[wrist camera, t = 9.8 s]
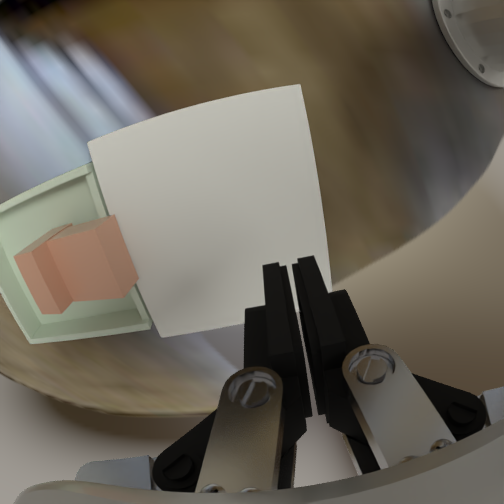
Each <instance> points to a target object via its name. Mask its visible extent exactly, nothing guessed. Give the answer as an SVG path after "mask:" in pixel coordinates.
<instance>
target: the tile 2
mask: <svg viewBox="0 0 504 504" xmlns="http://www.w3.org/2000/svg"><path fill="white" fill-rule="evenodd" d="M46 243H47V245H48V248H49V250H50V252H51V255H52V257H53V259H54V261H55V264H56V266H57V268H58V270H59V272H60V275H61V277H62V279H63V281H64V283H65V285H66V287H67V289H68V291H69V293H70V295H71V297H72V299H73V301H74V302H77V301H91V300H104V299H117V298H124V297H125V296H126V295H127V293H128V292H129V291H130V289H131V288H132V287H133V286H134V284H135V283H136V282H137V280H138V279H139V277H138V275H137V272H136V270H135V267H134V265H133V262H132V260H131V257H130V255H129V252H128V250H127V247H126V244H125V242H124V239H123V236H122V234H121V231H120V228H119V226H118V223H117V220H116V217H115V214H114V215H110V216H107V217H103V218H99V219H95V220H92V221H88V222H84V223H81V224H77V225H74V226H70V227H67V228H65V229H63V230H62V231H61V232H59V233H58V234H56V235H55V236H53V237H52V238H51V239H49V240H48V241H47V242H46Z"/></svg>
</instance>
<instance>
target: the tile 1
mask: <svg viewBox="0 0 504 504" xmlns="http://www.w3.org/2000/svg"><path fill="white" fill-rule="evenodd" d="M70 226H73V225H72V223H69V224H66V225H63V226H59V227H56V228H53V229H51V230H50V231H48V232H47V233H45V234H44V235H42V236H41V237H39V238H38V239H37V240H35V241H34V242H32V243H31V244H30V245H28V246H27V247H25V248H24V249H23V250H21V251H20V252H19V253H17V254H16V255H15V256H13V257H14V259H15V262H16V264H17V266H18V268H19V270H20V272H21V275H22V277H23V279H24V281H25V283H26V285H27V287H28V289H29V291H30V293H31V295H32V296H33V298H34V300H35V302H36V304H37V306H38V308H39V309H40V311H41V313H42V314H62V313H63V312H64V311H65V310H66V309H67V308H68V306H69V305H70V304H71V303H72V302H73V299H72V297H71V295H70V293H69V291H68V289H67V287H66V285H65V283H64V281H63V279H62V277H61V275H60V272H59V270H58V268H57V266H56V264H55V261H54V259H53V257H52V255H51V252H50V250H49V248H48V245H47V243H46V242H47V241H48V240H49V239H51V238H52V237H53V236H55V235H56V234H58V233H59V232H61V231H62V230H63V229H65V228H67V227H70Z"/></svg>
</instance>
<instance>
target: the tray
mask: <svg viewBox="0 0 504 504" xmlns="http://www.w3.org/2000/svg"><path fill="white" fill-rule="evenodd" d="M107 216H110V215H109V212H108V209H107V206H106V203H105V200H104V197H103V194H102V191H101V188H100V185H99V182H98V178H97V175H96V172H95V168H94V165H93V162H91V163H88V164H86V165H83V166H81V167H78V168H76V169H74V170H71V171H69V172H66V173H64V174H62V175H60V176H57V177H55V178H53V179H51V180H49V181H46V182H44V183H42V184H40V185H38V186H36V187H34V188H32V189H30V190H28V191H25V192H23V193H21V194H20V195H18V196H16V197H14V198H12V199H10V200H8V201H6V202H4V203H2V204H1V205H0V293H1V295H2V297H3V299H4V300H5V302H6V304H7V306H8V308H9V310H10V311H11V313H12V315H13V317H14V318H15V320H16V322H17V323H18V325H19V327H20V328H21V330H22V332H23V333H24V335H25V336H26V338H27V340H28V341H29V343H30V344H38V343H48V342H58V341H67V340H76V339H84V338H92V337H100V336H107V335H114V334H121V333H128V332H135V331H142V330H148V329H151V326H152V323H153V320H152V317H151V315H150V313H149V311H148V309H147V307H146V304H145V302H144V300H143V298H142V295H141V293H140V291H139V289H138V286H137V284H136V283H135V284H134V286H133V287H132V288H131V289H130V291H129V292H128V293H127V295H126V296H125V297H124V298H117V299H104V300H91V301H77V302H74V301H73V302H72V303H71V304H70V305H69V306H68V308H67V309H66V310H65V311H64V312H63V313H62V314H42V313H41V311H40V309H39V308H38V306H37V304H36V302H35V300H34V298H33V296H32V295H31V293H30V291H29V289H28V287H27V285H26V283H25V281H24V279H23V277H22V275H21V272H20V270H19V268H18V266H17V264H16V262H15V259H14V257H13V256H15V255H16V254H17V253H19V252H20V251H21V250H23V249H24V248H25V247H27V246H28V245H30V244H31V243H32V242H34V241H35V240H37V239H38V238H39V237H41V236H42V235H44V234H45V233H47V232H48V231H50V230H51V229H53V228H56V227H59V226H63V225H66V224H69V223H72V225H73V226H74V225H77V224H81V223H84V222H88V221H92V220H95V219H99V218H103V217H107Z"/></svg>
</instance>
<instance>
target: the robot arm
mask: <svg viewBox="0 0 504 504" xmlns="http://www.w3.org/2000/svg"><path fill="white" fill-rule="evenodd" d="M432 3H433V8H434V12H435V16H436V19H437V21H438V24H439V26H440V29H441V31H442V33H443V35H444V37H445V39H446V41H447V43H448V44H449V46H450V48H451V49H452V51H453V52H454V54H455V55H456V57H457V58H458V59H459V60H460V62H461V63H462V64H463V66H464V67H465V68H466V69H467V70H468V71H469V72H470V73H471V74H472V75H474V76H475V77H476V78H478V79H479V80H480V81H482V82H484V83H486V84H487V85H490V86H494V87H503V88H504V0H432ZM297 262H298V263H294V264H292V270H293V276H294V282H295V288H296V295H297V301H298V307H299V313H300V320H301V326H302V332H303V338H304V342H305V347H306V352H307V358H308V362H309V368H310V373H311V378H312V384H313V389H314V394H315V400H316V405H317V411H318V415H322V414H325V416H326V421H327V423H329V425H330V427H332V428H334V429H336V430H338V431H340V432H342V437H343V440H344V442H345V444H346V447H347V449H348V451H349V454H350V456H351V459H352V461H353V464H354V466H355V468H356V471H357V473H358V476H355V477H351V478H347V479H342V480H338V481H333V482H327V483H322V484H317V485H311V486H305V487H298V488H294V477H295V464H296V452H297V440H298V439H299V438H300V437H301V436H302V435H303V434H304V433H305V432H306V431H307V429H306V419H305V418H307V417H312V408H311V401H310V393H309V386H308V379H307V373H306V365H305V358H304V352H303V346H302V341H301V335H300V330H299V325H298V320H297V315H296V310H295V305H294V300H293V295H292V290H291V285H290V281H289V276H288V271H287V266H286V265H284V266H280V265H279V262H276V263H270V264H265V265H262V268H263V282H264V296H265V305H262V306H256V307H251V308H246V309H245V323H244V327H245V328H244V369H242V370H239V371H238V372H236V373H235V374H233V375H232V376H230V378H229V379H228V380H227V381H226V382H225V384H224V387H223V389H222V392H221V396H220V400H219V404H218V408H217V409H216V410H215V411H214V412H212V413H211V414H210V415H209V416H208V417H206V418H205V419H204V420H203V421H202V422H200V423H199V424H198V425H196V426H195V427H194V428H193V429H191V430H190V431H189V432H188V433H186V434H185V435H184V436H183V437H181V438H180V439H179V440H178V441H176V442H175V443H173V444H172V445H171V446H170V447H168V448H167V449H165V450H164V451H163V452H162V453H161V454H160V455H159V456H158V457H154V458H151V457H150V456H149V455H147V456H140V457H133V458H126V459H116V460H106V461H94V462H89V463H86V464H85V465H83V466H82V467H81V468H80V469H79V471H78V472H77V474H76V478H75V481H73V480H72V481H71V480H62V481H52V482H46V483H41V484H38V485H34V486H31V487H29V488H27V489H26V490H24V491H23V492H21V493H20V495H19V496H18V497H17V499H16V500H15V502H14V504H504V387H500V388H496V389H492V390H488V391H483V392H482V394H481V395H480V396H475V395H473V394H471V393H469V392H466V391H463V390H460V389H456V388H454V387H451V386H448V385H444V384H442V383H439V382H436V381H433V380H430V379H427V378H424V377H421V376H418V375H415V374H412V373H411V372H410V371H409V369H408V368H407V366H406V365H405V364H404V362H403V361H402V359H401V358H400V357H399V356H398V354H397V353H396V352H395V351H394V350H393V349H391V348H389V347H387V346H384V345H379V344H370V343H369V341H368V338H367V336H366V334H365V331H364V329H363V327H362V325H361V322H360V320H359V318H358V315H357V313H356V311H355V308H354V306H353V304H352V302H351V300H350V297H349V295H348V293H347V291H346V290H345V289H344V290H339V291H335V292H330V293H328V291H327V288H326V285H325V283H324V280H323V277H322V275H321V272H320V270H319V267H318V264H317V262H316V259H315V257H314V255H312V256H307V257H302V258H297Z"/></svg>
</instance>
